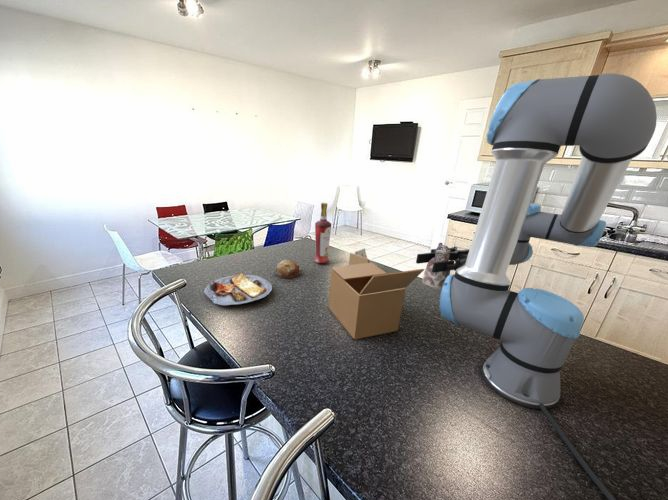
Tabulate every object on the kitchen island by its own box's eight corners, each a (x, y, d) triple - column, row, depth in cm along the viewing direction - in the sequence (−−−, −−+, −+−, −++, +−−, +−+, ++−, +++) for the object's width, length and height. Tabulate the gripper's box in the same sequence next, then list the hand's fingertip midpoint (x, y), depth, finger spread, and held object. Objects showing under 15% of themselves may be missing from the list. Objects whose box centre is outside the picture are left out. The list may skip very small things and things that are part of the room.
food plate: (196, 288, 113) (195, 279, 112) (250, 274, 126) (250, 266, 125) (222, 317, 95) (221, 307, 94) (282, 297, 108) (282, 288, 107)
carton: (397, 330, 90) (406, 286, 84) (354, 339, 86) (359, 293, 79) (366, 301, 106) (371, 262, 100) (328, 307, 102) (331, 267, 96)
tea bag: (350, 271, 131) (352, 250, 126) (359, 267, 135) (361, 247, 131) (357, 274, 128) (359, 252, 124) (365, 270, 133) (368, 249, 128)
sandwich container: (387, 284, 119) (393, 250, 113) (363, 296, 110) (368, 259, 104) (370, 278, 125) (374, 244, 119) (346, 288, 116) (349, 252, 110)
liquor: (321, 258, 145) (324, 201, 133) (332, 263, 140) (336, 203, 128) (310, 261, 140) (312, 202, 129) (321, 266, 135) (324, 205, 124)
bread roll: (276, 277, 132) (269, 264, 127) (295, 265, 133) (288, 251, 129) (285, 287, 123) (277, 272, 119) (305, 274, 125) (298, 259, 121)
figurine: (423, 286, 86) (431, 247, 81) (420, 276, 92) (428, 240, 87) (449, 289, 84) (459, 250, 79) (445, 279, 90) (454, 242, 86)
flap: (405, 286, 84) (406, 287, 84) (359, 293, 79) (360, 294, 79) (423, 268, 76) (424, 269, 76) (373, 275, 72) (374, 276, 71)
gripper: (511, 279, 84) (447, 289, 77) (459, 256, 100) (402, 263, 93) (520, 254, 81) (454, 262, 74) (465, 235, 97) (406, 240, 90)
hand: (425, 263), depth 84 cm, fingers closed on figurine, 6 cm apart
